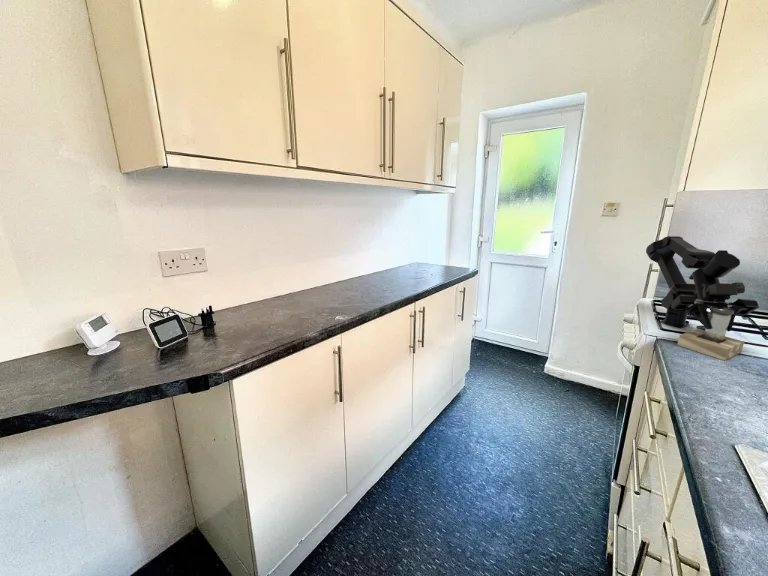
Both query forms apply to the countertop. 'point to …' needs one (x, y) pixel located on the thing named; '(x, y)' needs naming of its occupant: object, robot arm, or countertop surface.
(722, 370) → the countertop surface
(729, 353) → the housing
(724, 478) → the countertop surface
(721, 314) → the capped cylinder
